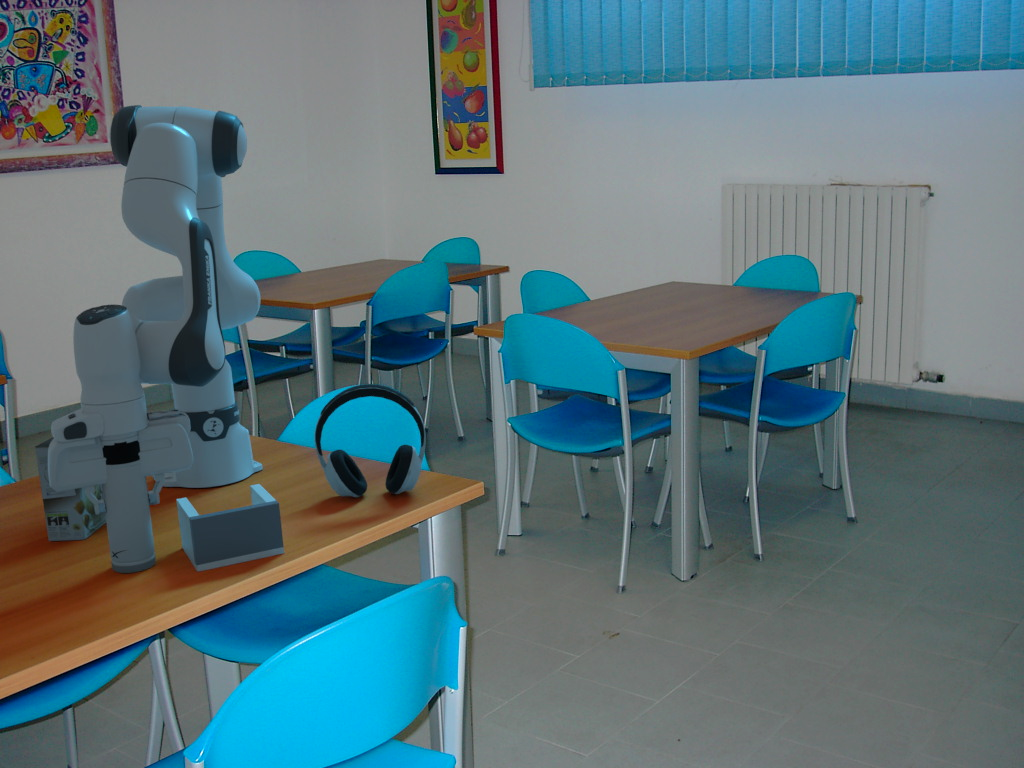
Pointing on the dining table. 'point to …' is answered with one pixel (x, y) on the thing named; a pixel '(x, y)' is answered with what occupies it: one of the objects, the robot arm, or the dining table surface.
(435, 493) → the dining table surface
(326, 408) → the headphones
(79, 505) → the coffee box
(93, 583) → the dining table surface
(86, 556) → the dining table surface
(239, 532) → the u-shaped bracket
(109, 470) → the travel mug
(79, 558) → the dining table surface
